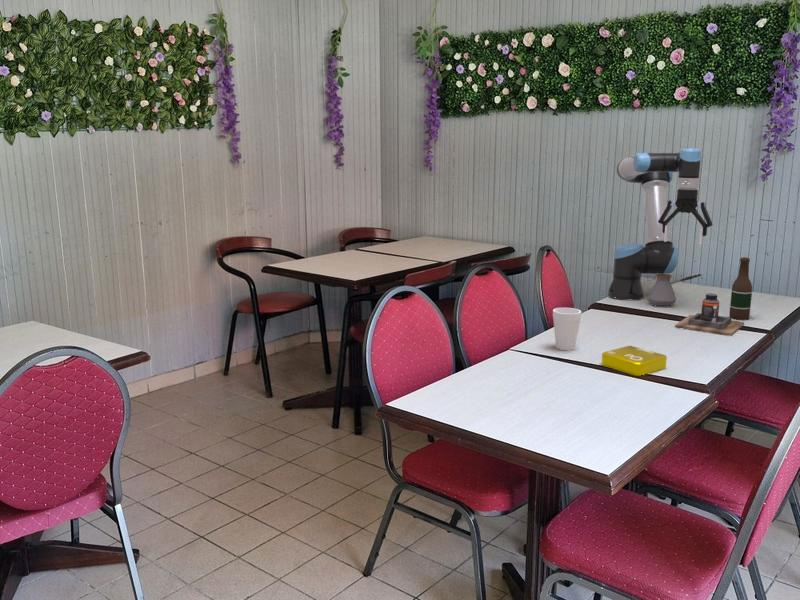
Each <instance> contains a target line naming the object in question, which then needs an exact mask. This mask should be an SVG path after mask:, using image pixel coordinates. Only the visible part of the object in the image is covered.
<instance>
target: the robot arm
mask: <svg viewBox="0 0 800 600" xmlns="http://www.w3.org/2000/svg"><path fill="white" fill-rule="evenodd" d="M701 160H702V149H700V148H682V149H680V152H638V153H636V154H635V155H634V156H633V157H625V158H623V159H621V160H620V161H619V162H618V164H617V166H616V173H617V176H618V177H619V179H621V180H623V181H624V182H628V183H630V184H631V183H632V184H641V189H642V190H644V192H645V204H646V205H645V206H646V209H645V210H646V223H647V239H648V240H647V242H646V243H645V244H644V246H643V243H637V242H636V243H633V242H632V243H624V244H620V245H618V246H617V247H616V248H614V249H615V250H614V256H613V258H614V261H613V275H612V276H613V278H612V280H611V283H610V284H609V285H610V286H609V288H608V291H607V296H608V297H609V298H611V297H613V298H612V299H615V298H614V297H616V298H619V299H618V300H622V299H638V300H642V299H643V298H644V295H645V294H644V288H643V285H642V281H641V279H642V278H641V277H642V275H643V274H646V275H647V274H654V275H656V274H668V275H669V274H673V272H674V271H675V270H676V268H677V265H678V262H679V261H678V260H679V250H678V248H677V247H675V246H674V244H673V241H672V240H671V239H669V238H670V236H669V233H670V232H669V231H670V224H669V223H670V221H672V220H673V219H674V218H675V217H676V216H677V215H678V214H679V213H683V214H684V213H687V214H691V215H693V216H694V217H695V219H696V220H697V221H698V222H699V224H700V226H702V227H700V229H699V230H700V232H699V243H698V245H703V244H704V238H705V237H706V236H707V235H708V234H707V233H708V228H710V227H713V225H714V224H713V221H712V219H711V217H710V214H709V212H708V209H707V207H706V206H707V205H706V204H707V203H706V202H705V201H702V202H699V201H698V197H699V196H698V194H699V190H698V188H699V182H700V181H699V180H700V172H701V171H700V170H701ZM674 173H678V180H677V188H678V189H677V191H676V192H677V193H676V200H673V199H671V200H668V201H667V193H666V189H667V188H668V187H669V185H670V183H671V182H672V181H673V176H674V175H673V174H674ZM674 205H675V206H676V209H674V210H673V212H672V213H671V214H670V215H669V216H668V214H669V212H670V211H671V210H672V207H673V206H674ZM697 207H699V208H700V211H701V212H702V216H703V217H704V219H703V217H702V216H701V214H700V213H699V211H698V210H697V209H696V208H697Z"/></svg>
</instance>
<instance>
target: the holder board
mask: <svg viewBox="0 0 800 600" xmlns="http://www.w3.org/2000/svg"><path fill="white" fill-rule="evenodd" d="M744 325H745V322H744V321H741V320H733V319H732V318H731V317H729V316H723V315H718V322H717V323H716V322H709V321H702V320H701V313H700V312H698V313H695V314H689V315H688V316H686V317H685V318H683V319H682V320H680V321H679V322H677V323H676V324H675V325H674V328H675V327H676V328H675V329H680V328H683V329H682V330H687V329H689V330H688V331H694V330H695V331H694V332H700V331H702V332H701V333H707V332H709V333H708V334H714V335H722V336H730V337H731V336H733V335H734V334H735V333H737V332H738V331H739V330H740V329H741V328H742V327H743V326H744Z"/></svg>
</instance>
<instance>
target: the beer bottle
mask: <svg viewBox="0 0 800 600" xmlns="http://www.w3.org/2000/svg"><path fill="white" fill-rule="evenodd" d="M739 261H740V264H739V269H738V274H737V277H736V279H735V280H734V281H733V283H732V286H731V292H730V293H731V295H730V304H729V316H728V317H731V318H732V320H735V319H736V320H735V321H748V320H749V319H750V313H751V303H752V295H753V285H752V282H751V280H750V278H749V275H750V273H749V271H750V270H749V268H750V262H751V259H750V257H741V258H740V259H739Z"/></svg>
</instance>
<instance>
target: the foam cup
mask: <svg viewBox="0 0 800 600" xmlns="http://www.w3.org/2000/svg"><path fill="white" fill-rule="evenodd" d="M552 319H553V329H554V342H555V349H556V350H559V349H560V351H566V350H570V351H574V350H575V348H576V343H577V338H578V333H579V329H580V323H581V319H582V310H580V309H578V308H573V307H555V308H554V309H552Z"/></svg>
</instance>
